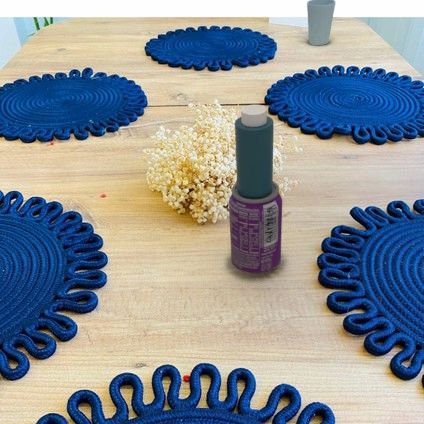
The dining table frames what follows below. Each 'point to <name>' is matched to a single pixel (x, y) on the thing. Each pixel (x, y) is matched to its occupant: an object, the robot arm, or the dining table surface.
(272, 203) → the beverage can
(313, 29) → the cup
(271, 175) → the bottle
